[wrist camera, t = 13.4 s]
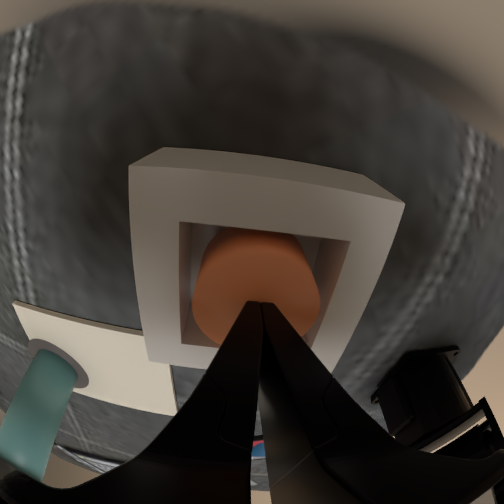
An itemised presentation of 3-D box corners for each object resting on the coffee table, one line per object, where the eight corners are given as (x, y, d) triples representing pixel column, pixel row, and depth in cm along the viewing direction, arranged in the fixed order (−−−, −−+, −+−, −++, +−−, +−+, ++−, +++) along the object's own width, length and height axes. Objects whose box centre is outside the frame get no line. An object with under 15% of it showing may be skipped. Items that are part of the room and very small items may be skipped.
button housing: (363, 174, 10) (405, 203, 7) (316, 322, 14) (331, 373, 11) (163, 147, 10) (128, 165, 7) (165, 308, 13) (148, 360, 10)
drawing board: (167, 334, 14) (165, 341, 14) (178, 412, 19) (177, 417, 19) (7, 297, 13) (3, 301, 13) (49, 379, 18) (48, 382, 18)
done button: (317, 228, 10) (336, 262, 8) (293, 312, 12) (302, 354, 10) (204, 214, 9) (192, 247, 7) (200, 304, 11) (192, 346, 9)
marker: (56, 347, 15) (-4, 498, 3) (88, 383, 17) (48, 522, 5) (28, 348, 15) (-28, 474, 4) (57, 381, 17) (16, 501, 6)
